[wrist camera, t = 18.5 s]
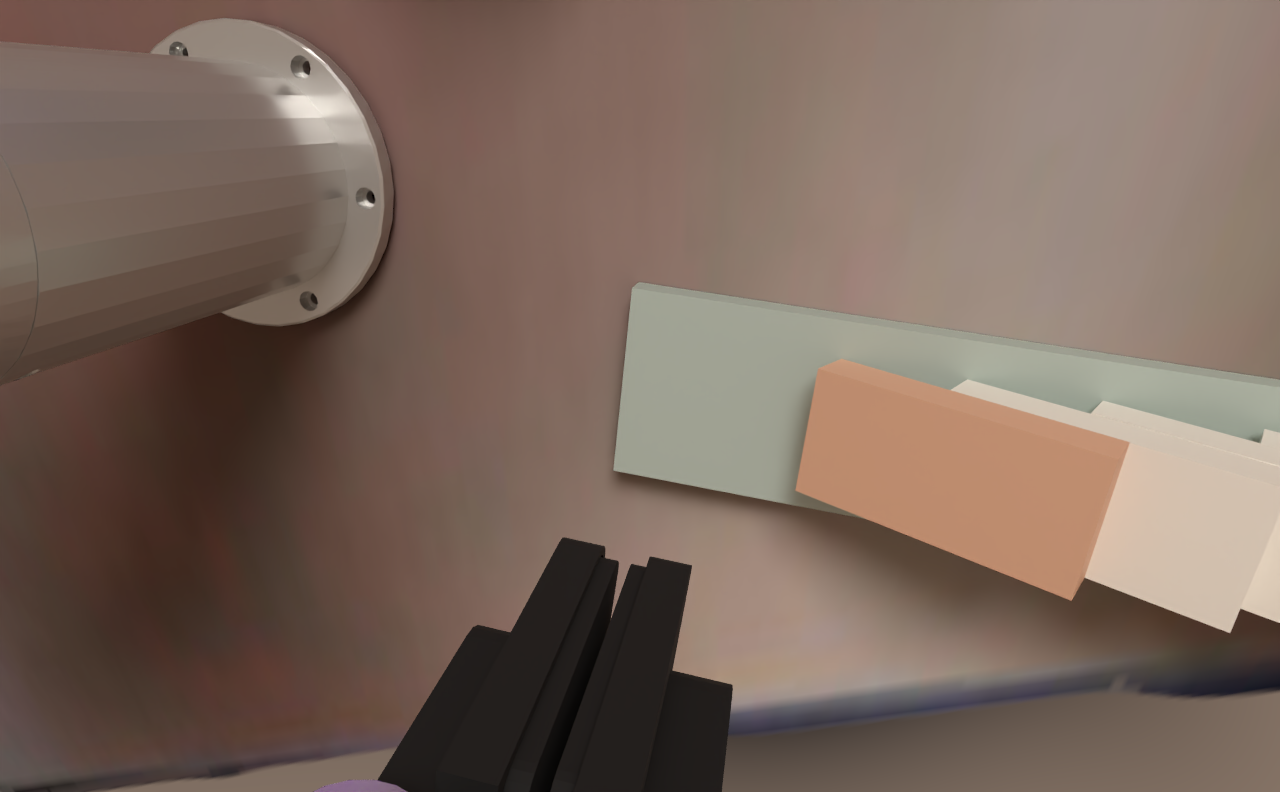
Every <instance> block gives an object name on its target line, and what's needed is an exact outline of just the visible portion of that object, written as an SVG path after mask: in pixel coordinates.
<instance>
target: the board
mask: <svg viewBox="0 0 1280 792" xmlns="http://www.w3.org/2000/svg"><path fill="white" fill-rule="evenodd" d="M840 359H844V360H848V361H851V362H855V363H858V364H862V365H865V366H869V367H872V368H875V369H879V370H882V371H886V372H889V373H893V374H896V375H900V376H903V377H907V378H910V379H913V380H917V381H920V382H924V383H927V384H931V385H934V386H938V387H941V388H944V389H948V390H951V389H953V388H954V387H956V386H958V385H959V384H961V383H962V382H964V381H966V380H967V379H968V380H972V381H975V382H979V383H982V384H986V385H990V386H993V387H997V388H1000V389H1004V390H1007V391H1011V392H1015V393H1018V394H1022V395H1025V396H1029V397H1032V398H1036V399H1040V400H1043V401H1047V402H1050V403H1054V404H1057V405H1061V406H1065V407H1068V408H1072V409H1075V410H1079V411H1082V412H1086V413H1090V414H1091V413H1092V412H1093V410H1094V409H1095V408H1096V407H1097V406H1098V405H1099V404H1100V403H1101V402H1102V401H1107V402H1110V403H1114V404H1118V405H1121V406H1125V407H1129V408H1132V409H1136V410H1140V411H1143V412H1147V413H1151V414H1155V415H1158V416H1162V417H1166V418H1169V419H1173V420H1177V421H1180V422H1184V423H1188V424H1191V425H1195V426H1199V427H1202V428H1206V429H1210V430H1213V431H1217V432H1221V433H1224V434H1228V435H1232V436H1235V437H1239V438H1243V439H1246V440H1250V441H1254V442H1257V443H1259V441H1260V439H1261V436H1262V434H1263V431H1264V429H1267V430H1271V431H1275V432H1279V433H1280V380H1278V379H1271V378H1265V377H1258V376H1252V375H1245V374H1239V373H1232V372H1225V371H1219V370H1212V369H1206V368H1199V367H1193V366H1186V365H1179V364H1173V363H1166V362H1160V361H1153V360H1147V359H1140V358H1134V357H1127V356H1120V355H1114V354H1107V353H1101V352H1094V351H1088V350H1081V349H1074V348H1068V347H1061V346H1055V345H1048V344H1042V343H1035V342H1029V341H1022V340H1015V339H1009V338H1002V337H996V336H989V335H983V334H976V333H970V332H963V331H956V330H950V329H943V328H937V327H930V326H924V325H917V324H910V323H904V322H897V321H891V320H884V319H878V318H871V317H865V316H858V315H851V314H845V313H838V312H832V311H825V310H819V309H812V308H805V307H799V306H792V305H786V304H779V303H773V302H766V301H760V300H753V299H746V298H740V297H733V296H727V295H720V294H714V293H707V292H700V291H694V290H687V289H681V288H674V287H668V286H661V285H655V284H648V283H641V282H638V283H637V284H636V285H635V286H634V287H633V288H632V294H631V304H630V314H629V324H628V333H627V343H626V353H625V362H624V372H623V382H622V392H621V401H620V411H619V421H618V431H617V440H616V450H615V460H614V469H613V471H618V472H624V473H629V474H634V475H639V476H644V477H650V478H655V479H660V480H665V481H670V482H675V483H681V484H686V485H691V486H696V487H701V488H707V489H712V490H717V491H722V492H727V493H732V494H738V495H743V496H748V497H753V498H758V499H764V500H769V501H774V502H779V503H784V504H789V505H795V506H800V507H805V508H810V509H815V510H821V511H826V512H831V513H836V514H841V515H846V516H852V517H857V518H862V519H865V518H863V517H860V516H857V515H855V514H852V513H850V512H847V511H845V510H842V509H840V508H837V507H835V506H832V505H830V504H827V503H825V502H822V501H820V500H817V499H815V498H812V497H810V496H807V495H805V494H802V493H800V492H797V491H795V490H796V484H797V479H798V474H799V468H800V463H801V457H802V452H803V447H804V441H805V436H806V431H807V425H808V420H809V414H810V409H811V404H812V398H813V393H814V388H815V382H816V377H817V372H818V368H821V367H823V366H825V365H828V364H830V363H833V362H835V361H837V360H840ZM867 520H868V519H867Z"/></svg>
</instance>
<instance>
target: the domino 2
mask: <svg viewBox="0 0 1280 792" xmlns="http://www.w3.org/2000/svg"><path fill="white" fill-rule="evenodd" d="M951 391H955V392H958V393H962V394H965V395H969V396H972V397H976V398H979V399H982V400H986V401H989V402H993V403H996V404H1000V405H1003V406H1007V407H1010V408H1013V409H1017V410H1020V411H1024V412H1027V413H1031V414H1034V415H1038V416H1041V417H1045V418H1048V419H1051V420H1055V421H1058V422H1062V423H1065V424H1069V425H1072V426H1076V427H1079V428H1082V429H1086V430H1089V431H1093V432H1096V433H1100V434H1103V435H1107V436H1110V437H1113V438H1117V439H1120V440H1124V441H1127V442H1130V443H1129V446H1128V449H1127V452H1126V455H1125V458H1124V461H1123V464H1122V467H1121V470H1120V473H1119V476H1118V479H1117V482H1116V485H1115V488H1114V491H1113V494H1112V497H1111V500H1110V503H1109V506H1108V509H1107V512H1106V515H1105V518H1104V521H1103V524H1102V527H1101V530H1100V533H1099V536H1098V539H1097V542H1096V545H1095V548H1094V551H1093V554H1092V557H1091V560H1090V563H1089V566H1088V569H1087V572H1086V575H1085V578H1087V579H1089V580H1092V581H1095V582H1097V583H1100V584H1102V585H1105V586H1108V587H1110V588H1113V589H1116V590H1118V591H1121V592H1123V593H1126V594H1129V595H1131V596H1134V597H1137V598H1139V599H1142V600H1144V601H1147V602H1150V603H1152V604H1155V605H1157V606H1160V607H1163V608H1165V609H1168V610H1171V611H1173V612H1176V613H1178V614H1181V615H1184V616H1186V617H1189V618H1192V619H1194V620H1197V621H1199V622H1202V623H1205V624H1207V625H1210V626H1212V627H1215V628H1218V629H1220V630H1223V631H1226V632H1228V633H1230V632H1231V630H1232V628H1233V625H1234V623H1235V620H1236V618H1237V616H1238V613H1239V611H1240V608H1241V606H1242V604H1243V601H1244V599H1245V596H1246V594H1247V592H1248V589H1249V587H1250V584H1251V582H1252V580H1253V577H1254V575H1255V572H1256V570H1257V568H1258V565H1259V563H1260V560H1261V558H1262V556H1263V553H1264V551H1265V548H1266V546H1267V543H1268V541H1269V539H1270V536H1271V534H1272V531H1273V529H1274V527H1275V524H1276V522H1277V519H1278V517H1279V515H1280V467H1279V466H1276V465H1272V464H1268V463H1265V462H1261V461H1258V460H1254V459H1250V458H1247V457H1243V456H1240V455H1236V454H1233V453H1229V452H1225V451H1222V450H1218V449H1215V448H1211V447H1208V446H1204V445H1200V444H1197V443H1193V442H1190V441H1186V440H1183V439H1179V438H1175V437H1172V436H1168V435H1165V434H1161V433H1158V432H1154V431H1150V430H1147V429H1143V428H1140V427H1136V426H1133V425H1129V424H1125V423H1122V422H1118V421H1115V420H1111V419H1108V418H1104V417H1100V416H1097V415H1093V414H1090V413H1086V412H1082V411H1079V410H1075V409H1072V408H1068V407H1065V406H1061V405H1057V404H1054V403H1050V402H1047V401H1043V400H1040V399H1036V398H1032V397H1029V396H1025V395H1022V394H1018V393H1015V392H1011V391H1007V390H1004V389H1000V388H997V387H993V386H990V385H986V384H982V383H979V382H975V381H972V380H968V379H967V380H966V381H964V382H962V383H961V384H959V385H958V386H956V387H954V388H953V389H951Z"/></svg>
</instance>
